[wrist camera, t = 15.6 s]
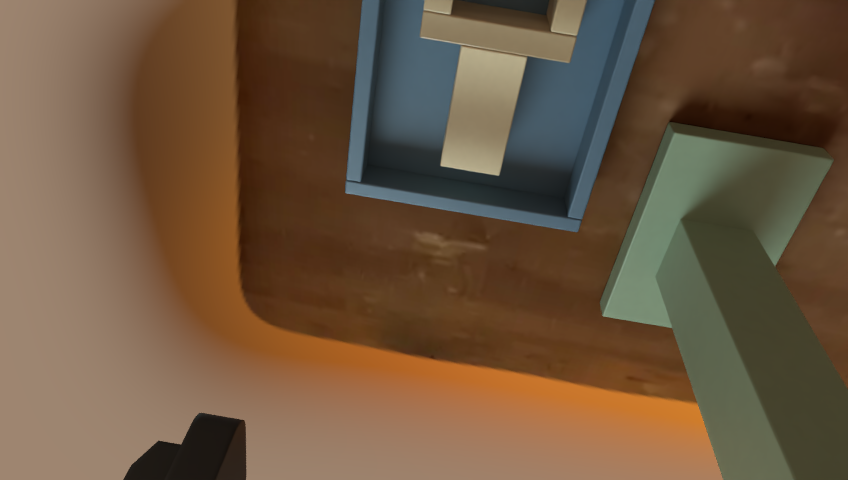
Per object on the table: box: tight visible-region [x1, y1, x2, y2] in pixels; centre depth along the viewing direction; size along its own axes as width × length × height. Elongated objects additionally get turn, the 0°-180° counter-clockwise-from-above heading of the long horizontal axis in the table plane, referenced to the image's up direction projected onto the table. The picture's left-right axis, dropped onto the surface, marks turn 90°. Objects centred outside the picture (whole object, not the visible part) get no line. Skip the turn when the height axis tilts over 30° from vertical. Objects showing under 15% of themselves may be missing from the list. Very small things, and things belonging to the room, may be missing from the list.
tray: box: [345, 0, 655, 232], centre depth 22 cm, size 15×9×2 cm, turn 172°
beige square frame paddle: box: [420, 0, 587, 176], centre depth 22 cm, size 10×5×2 cm, turn 172°
